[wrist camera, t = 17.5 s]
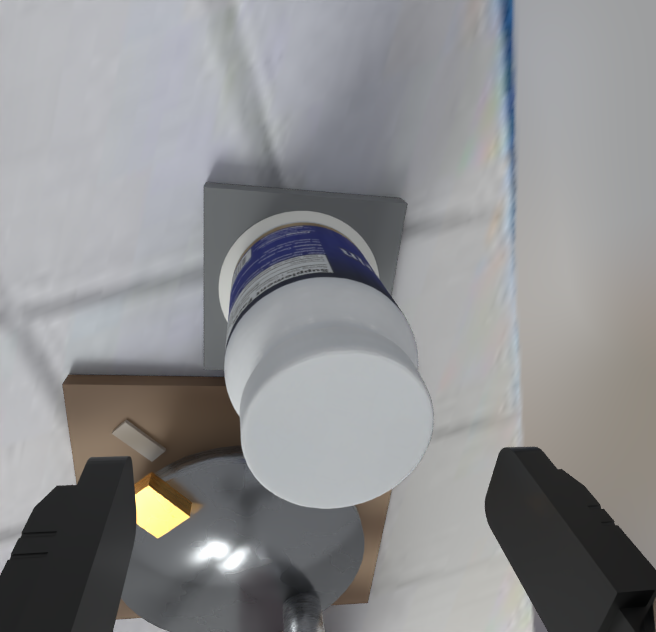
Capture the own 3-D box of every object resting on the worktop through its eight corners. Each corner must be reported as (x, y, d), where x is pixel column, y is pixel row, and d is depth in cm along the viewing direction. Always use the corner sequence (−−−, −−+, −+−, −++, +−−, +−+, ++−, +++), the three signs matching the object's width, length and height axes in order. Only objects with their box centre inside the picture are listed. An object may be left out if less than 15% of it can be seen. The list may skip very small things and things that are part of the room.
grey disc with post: (402, 539, 26) (439, 650, 21) (228, 646, 28) (223, 772, 23) (247, 387, 21) (246, 487, 15) (44, 532, 22) (-17, 664, 17)
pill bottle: (387, 310, 21) (483, 469, 13) (270, 364, 22) (284, 557, 13) (335, 191, 19) (411, 286, 10) (204, 255, 19) (165, 401, 10)
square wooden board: (365, 590, 31) (372, 624, 29) (99, 607, 29) (88, 646, 27) (408, 379, 25) (422, 405, 23) (68, 374, 22) (50, 403, 20)
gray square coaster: (373, 361, 24) (378, 374, 23) (205, 358, 23) (203, 371, 22) (400, 198, 21) (408, 204, 20) (206, 182, 19) (203, 187, 18)
